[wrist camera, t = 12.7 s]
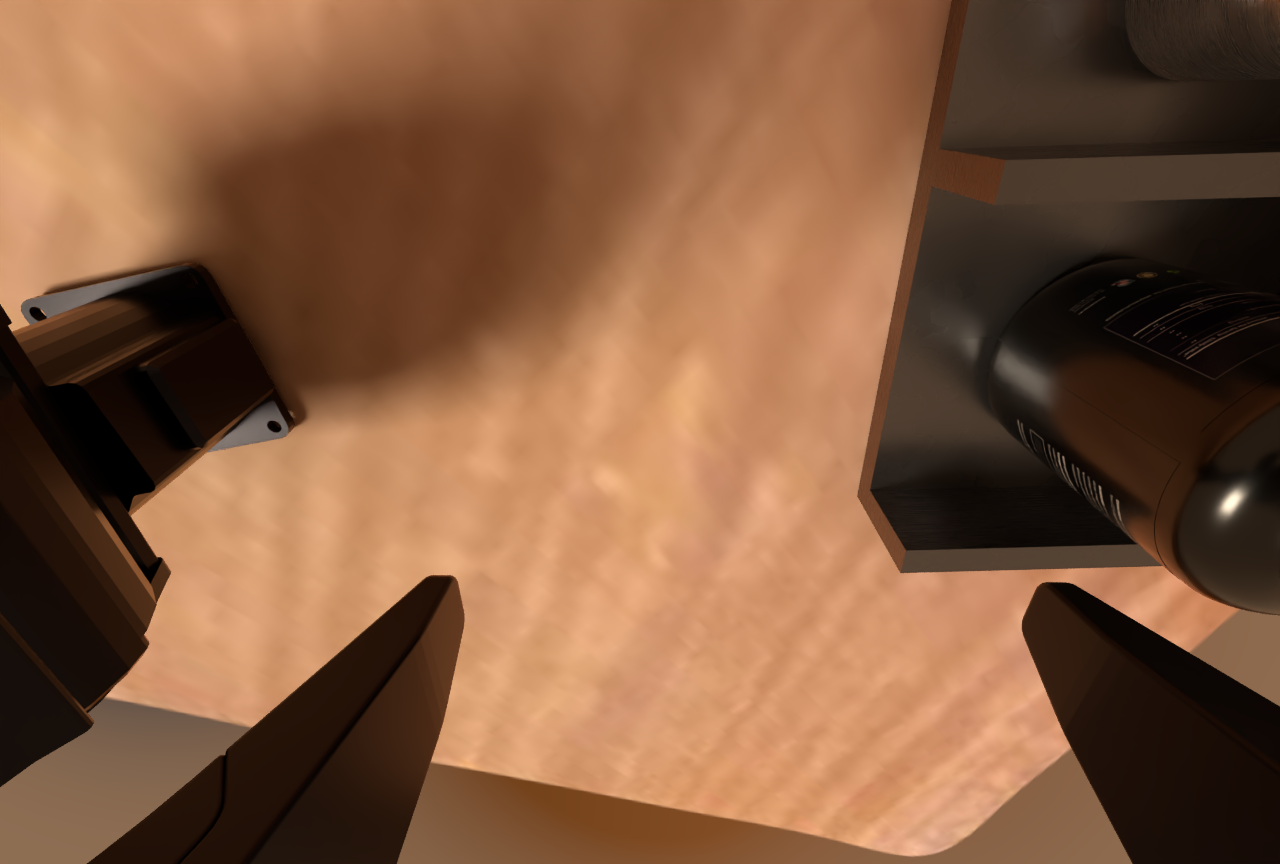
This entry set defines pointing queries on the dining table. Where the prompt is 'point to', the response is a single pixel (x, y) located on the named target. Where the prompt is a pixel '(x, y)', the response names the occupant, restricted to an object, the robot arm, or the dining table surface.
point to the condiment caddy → (1058, 242)
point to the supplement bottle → (1158, 414)
